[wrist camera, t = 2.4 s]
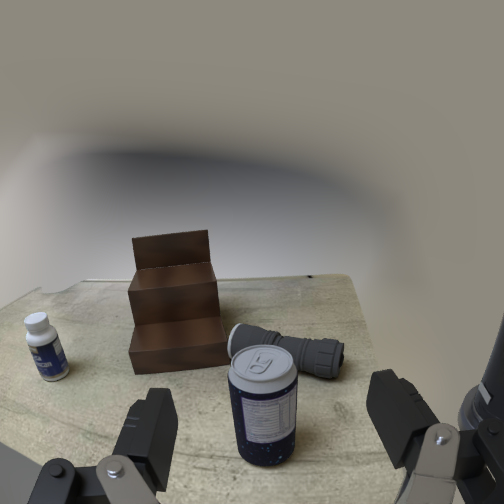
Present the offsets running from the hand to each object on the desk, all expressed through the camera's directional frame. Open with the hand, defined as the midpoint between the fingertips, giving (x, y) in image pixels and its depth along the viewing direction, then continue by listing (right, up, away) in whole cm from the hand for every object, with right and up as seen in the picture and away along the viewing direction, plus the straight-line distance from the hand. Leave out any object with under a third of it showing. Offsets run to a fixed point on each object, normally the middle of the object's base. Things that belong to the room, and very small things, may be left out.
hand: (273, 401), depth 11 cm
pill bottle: (-31, -13, +27) cm, 44 cm away
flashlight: (+4, -10, +30) cm, 32 cm away
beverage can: (+1, -14, +16) cm, 21 cm away
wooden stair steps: (-13, -9, +39) cm, 42 cm away
